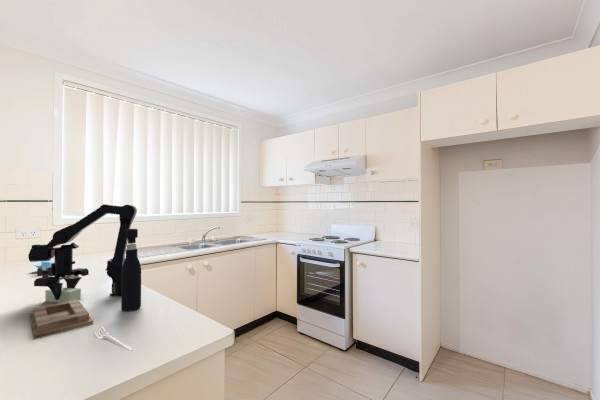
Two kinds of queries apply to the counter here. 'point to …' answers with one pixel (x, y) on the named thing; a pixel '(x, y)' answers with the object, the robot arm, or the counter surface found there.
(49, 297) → the peg
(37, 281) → the robot arm
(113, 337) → the fork
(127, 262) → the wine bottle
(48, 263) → the blue spiky figurine
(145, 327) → the counter surface
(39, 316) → the socket board
